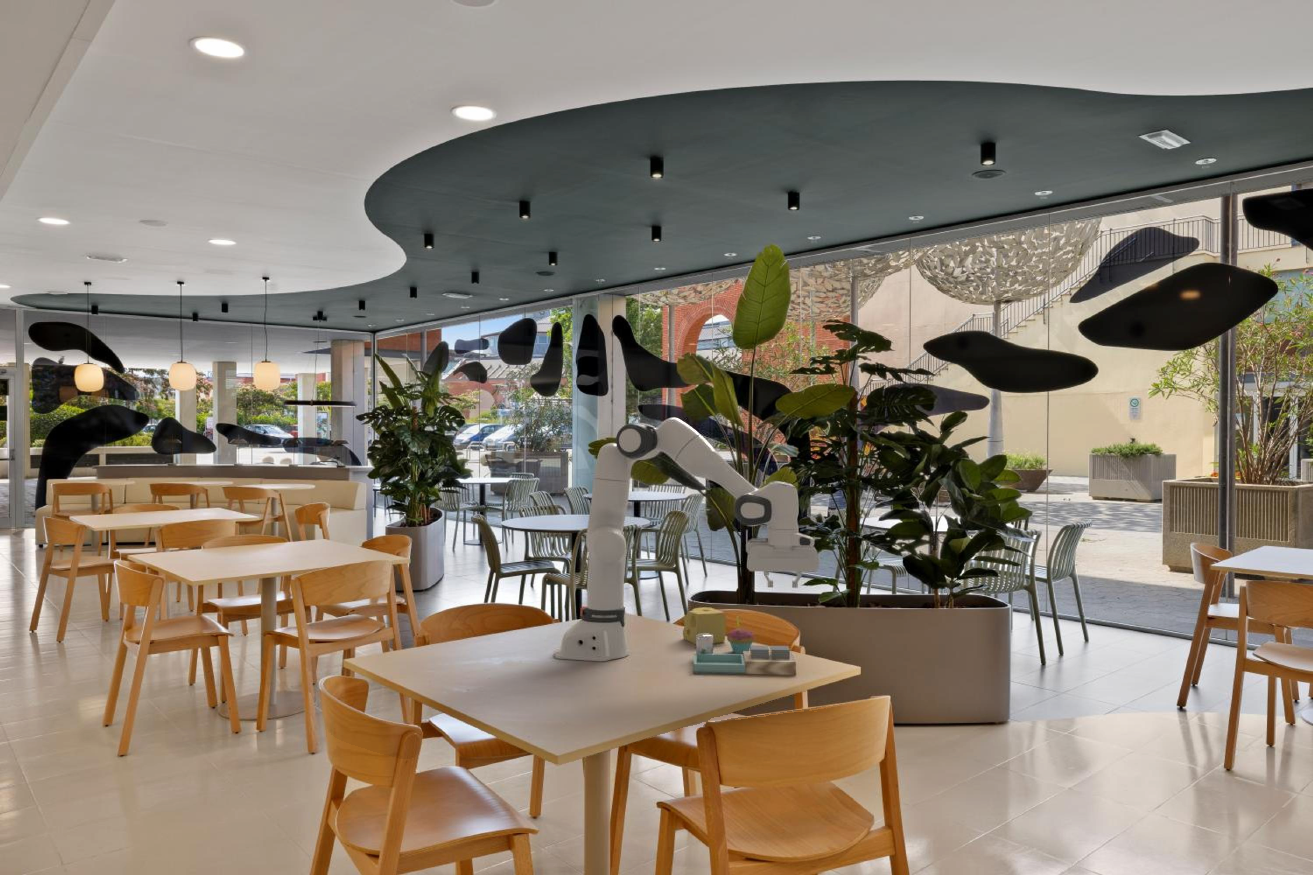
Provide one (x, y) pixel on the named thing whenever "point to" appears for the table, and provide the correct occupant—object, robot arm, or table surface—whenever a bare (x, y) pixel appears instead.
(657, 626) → the table surface
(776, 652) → the tile
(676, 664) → the table surface
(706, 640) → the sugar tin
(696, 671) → the tray
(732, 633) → the cupcake
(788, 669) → the board
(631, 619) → the table surface
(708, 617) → the cheese
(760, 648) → the tile
